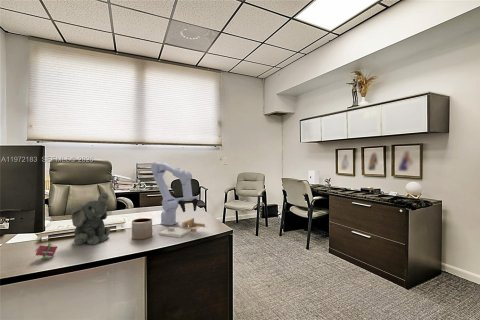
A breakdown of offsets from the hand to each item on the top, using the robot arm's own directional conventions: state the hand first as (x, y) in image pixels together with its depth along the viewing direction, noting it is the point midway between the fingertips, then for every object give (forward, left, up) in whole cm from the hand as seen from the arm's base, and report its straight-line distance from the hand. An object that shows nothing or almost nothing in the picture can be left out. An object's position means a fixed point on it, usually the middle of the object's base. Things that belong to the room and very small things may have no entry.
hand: (189, 211), depth 151 cm
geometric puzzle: (-36, -62, -11) cm, 72 cm away
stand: (-2, -13, -10) cm, 17 cm away
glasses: (+3, 0, -10) cm, 11 cm away
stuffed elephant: (-38, -39, -11) cm, 55 cm away
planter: (-16, -25, -11) cm, 32 cm away
